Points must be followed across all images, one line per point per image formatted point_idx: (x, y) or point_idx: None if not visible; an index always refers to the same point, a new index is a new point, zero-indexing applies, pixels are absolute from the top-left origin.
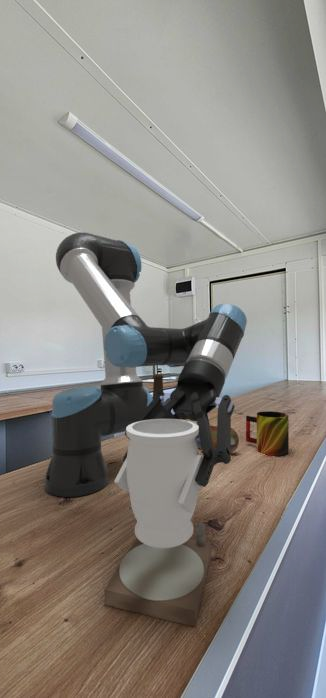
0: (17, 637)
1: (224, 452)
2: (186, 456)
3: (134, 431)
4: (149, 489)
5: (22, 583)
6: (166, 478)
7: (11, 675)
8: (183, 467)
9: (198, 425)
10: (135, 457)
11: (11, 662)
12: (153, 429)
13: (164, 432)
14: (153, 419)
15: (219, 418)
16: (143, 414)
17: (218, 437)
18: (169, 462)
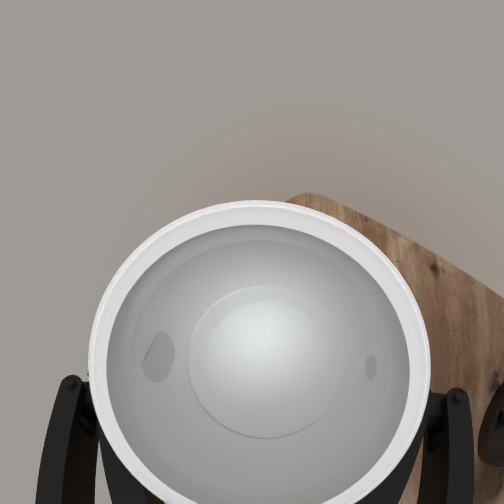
0: (345, 215)
1: (63, 379)
2: (141, 329)
3: (307, 225)
4: (237, 269)
5: (405, 253)
6: (192, 280)
7: (315, 196)
8: (156, 317)
9: (134, 479)
10: (284, 247)
11: (326, 201)
12: (368, 450)
13: (327, 477)
14: (387, 470)
15: (55, 484)
16: (461, 477)
17: (67, 420)
18: (175, 280)
